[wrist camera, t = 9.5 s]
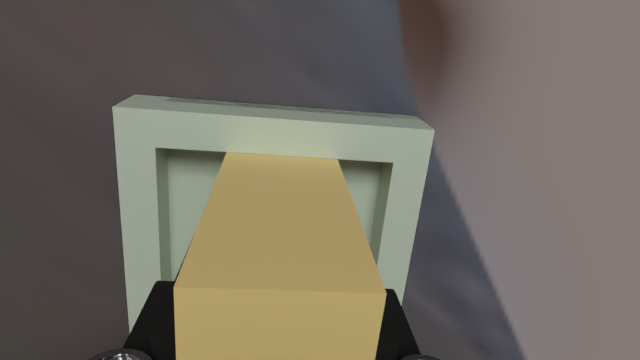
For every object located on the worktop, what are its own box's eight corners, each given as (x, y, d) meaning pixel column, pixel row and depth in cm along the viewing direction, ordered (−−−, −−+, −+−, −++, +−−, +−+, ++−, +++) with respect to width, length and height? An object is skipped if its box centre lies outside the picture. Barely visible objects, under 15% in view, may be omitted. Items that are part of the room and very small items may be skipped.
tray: (135, 94, 13) (112, 106, 11) (415, 115, 13) (434, 130, 12) (156, 477, 18) (144, 524, 16) (354, 473, 19) (361, 517, 17)
